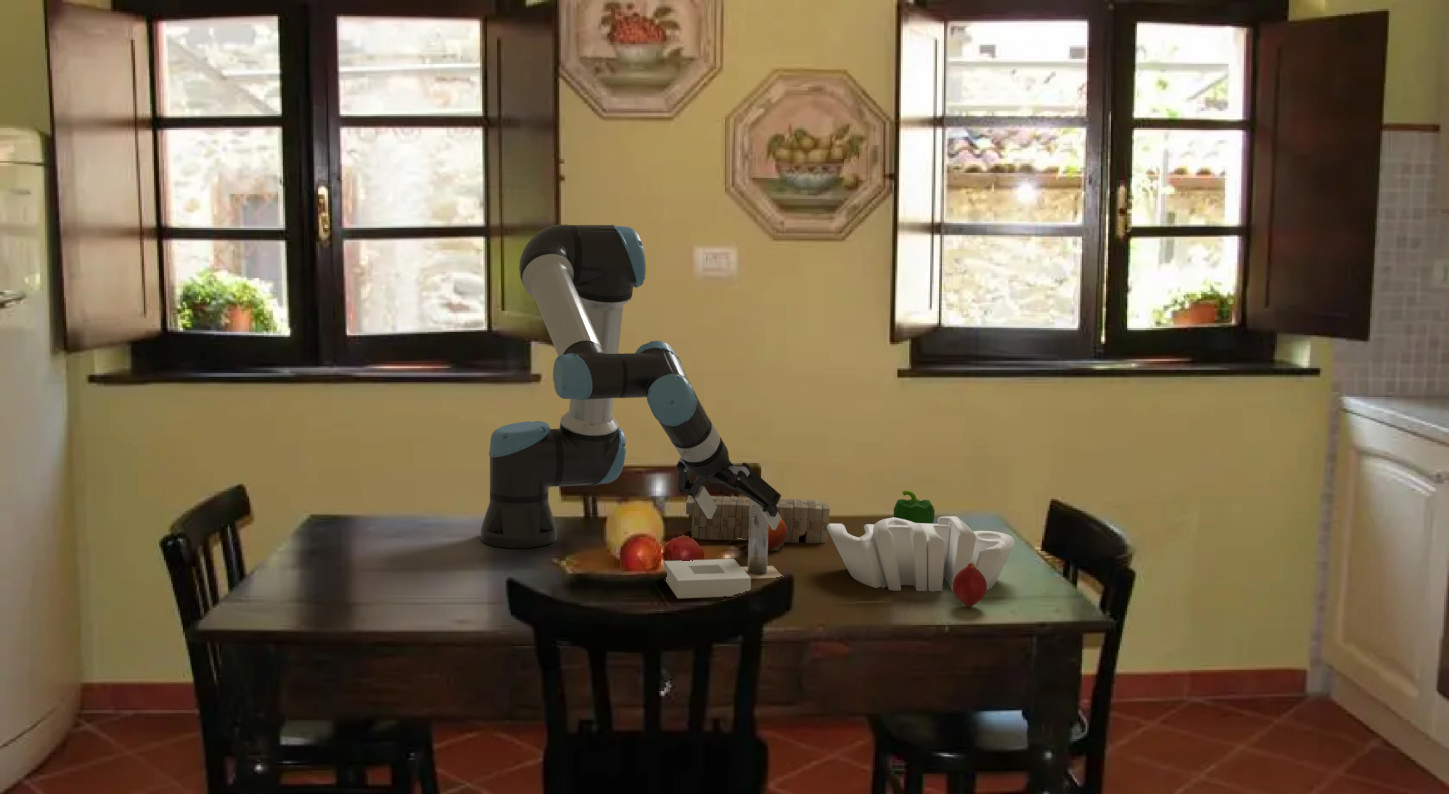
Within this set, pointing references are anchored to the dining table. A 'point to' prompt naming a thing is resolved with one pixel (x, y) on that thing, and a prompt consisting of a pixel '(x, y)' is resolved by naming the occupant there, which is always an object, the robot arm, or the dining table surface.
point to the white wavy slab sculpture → (920, 552)
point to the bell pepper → (914, 509)
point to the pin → (757, 541)
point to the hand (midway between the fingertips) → (744, 518)
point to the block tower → (735, 519)
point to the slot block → (706, 578)
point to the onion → (969, 585)
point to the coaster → (770, 574)
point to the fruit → (775, 536)
